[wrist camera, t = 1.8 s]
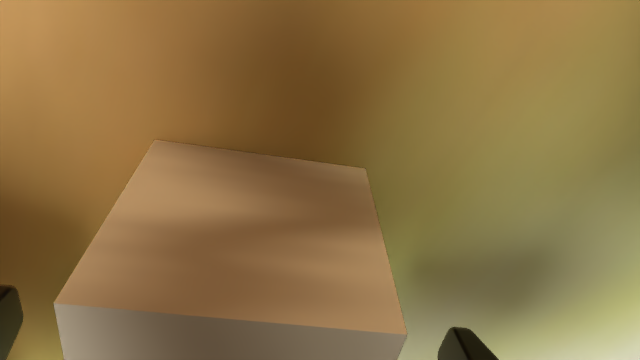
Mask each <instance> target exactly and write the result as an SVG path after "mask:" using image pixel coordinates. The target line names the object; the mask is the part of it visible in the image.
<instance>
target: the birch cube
mask: <svg viewBox="0 0 640 360" xmlns="http://www.w3.org/2000/svg"><path fill="white" fill-rule="evenodd" d="M53 304H54V309H55V314H56V320H57V325H58V330H59V335H60V340H61V346H62V351H63V356H64V360H397V358H398V356H399V354H400V351H401V349H402V347H403V344H404V342H405V339H406V337H407V331H406V327H405V323H404V319H403V315H402V311H401V307H400V303H399V299H398V295H397V291H396V287H395V283H394V279H393V275H392V271H391V267H390V263H389V259H388V255H387V251H386V247H385V243H384V240H383V236H382V232H381V228H380V224H379V220H378V216H377V212H376V208H375V204H374V200H373V196H372V192H371V188H370V184H369V180H368V176H367V172H366V168H359V167H352V166H345V165H337V164H330V163H323V162H315V161H308V160H301V159H294V158H286V157H279V156H272V155H264V154H257V153H250V152H242V151H235V150H228V149H221V148H213V147H206V146H199V145H191V144H184V143H177V142H170V141H162V140H154V141H153V143H152V144H151V146H150V148H149V149H148V151H147V153H146V154H145V156H144V157H143V159H142V161H141V162H140V164H139V165H138V167H137V169H136V170H135V172H134V174H133V175H132V177H131V178H130V180H129V182H128V183H127V185H126V186H125V188H124V190H123V191H122V193H121V195H120V196H119V198H118V199H117V201H116V203H115V204H114V206H113V208H112V209H111V211H110V212H109V214H108V216H107V217H106V219H105V220H104V222H103V224H102V225H101V227H100V229H99V230H98V232H97V233H96V235H95V237H94V238H93V240H92V242H91V243H90V245H89V246H88V248H87V250H86V251H85V253H84V254H83V256H82V258H81V259H80V261H79V263H78V264H77V266H76V267H75V269H74V271H73V272H72V274H71V275H70V277H69V279H68V280H67V282H66V284H65V285H64V287H63V288H62V290H61V292H60V293H59V295H58V297H57V298H56V300H55V301H54V303H53Z"/></svg>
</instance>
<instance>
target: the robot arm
mask: <svg viewBox="0 0 640 360" xmlns="http://www.w3.org/2000/svg"><path fill="white" fill-rule="evenodd" d="M22 322H23V311H22V307H21V303H20V299H19V295H18V291H17V289H16V288H15V287H14V286H11V285H1V284H0V360H6V359H7V356H8V354H9V352H10V350H11V348H12V345H13V343H14V341H15V339H16V336H17V334H18V332H19V330H20V328H21V325H22ZM438 360H499V359H498V358H497V357H496V356H495V355H494V354H493V353H492V352H491V351H490V350H489V349H488V348H487V346H486V345H485V344H484V343H483V342H482V341H481V340H480V339H479V338H478V337H477V336H476V335H475V334H474V333H473V332H472V331H471V330H470V329H468V328H462V327H451V328H450V329H449V330H448V332H447V334H446V336H445V338H444V340H443V342H442V344H441V346H440V348H439V351H438Z"/></svg>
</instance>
